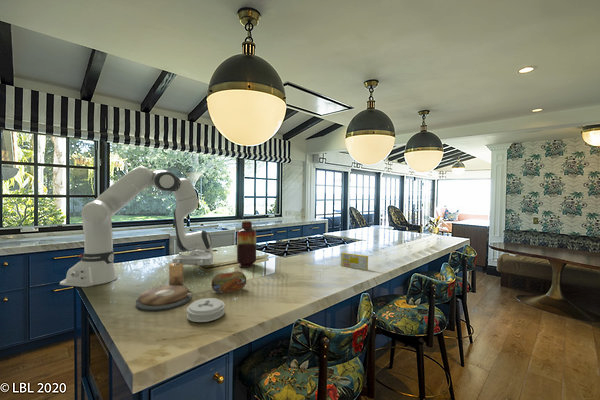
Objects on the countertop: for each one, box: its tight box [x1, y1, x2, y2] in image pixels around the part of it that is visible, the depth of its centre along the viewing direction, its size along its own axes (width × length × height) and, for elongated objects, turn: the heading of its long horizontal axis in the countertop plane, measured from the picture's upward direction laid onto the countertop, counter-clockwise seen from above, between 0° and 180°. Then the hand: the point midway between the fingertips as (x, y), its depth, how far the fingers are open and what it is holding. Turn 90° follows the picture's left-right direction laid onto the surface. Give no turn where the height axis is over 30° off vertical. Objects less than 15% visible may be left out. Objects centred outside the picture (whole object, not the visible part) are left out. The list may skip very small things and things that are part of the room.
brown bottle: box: [236, 220, 257, 269], centre depth 163 cm, size 11×11×26 cm
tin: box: [210, 270, 247, 295], centre depth 122 cm, size 15×3×8 cm, turn 117°
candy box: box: [340, 252, 369, 272], centre depth 160 cm, size 16×2×8 cm, turn 58°
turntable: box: [138, 284, 192, 306], centre depth 111 cm, size 20×18×2 cm
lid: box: [186, 297, 226, 323], centre depth 98 cm, size 13×13×5 cm
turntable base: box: [135, 289, 193, 312], centre depth 111 cm, size 20×20×2 cm
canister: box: [168, 262, 184, 286], centre depth 128 cm, size 6×6×10 cm
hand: (187, 264), depth 140 cm, fingers open, 8 cm apart
